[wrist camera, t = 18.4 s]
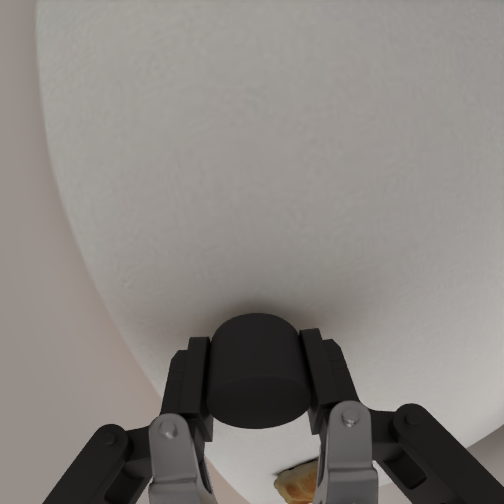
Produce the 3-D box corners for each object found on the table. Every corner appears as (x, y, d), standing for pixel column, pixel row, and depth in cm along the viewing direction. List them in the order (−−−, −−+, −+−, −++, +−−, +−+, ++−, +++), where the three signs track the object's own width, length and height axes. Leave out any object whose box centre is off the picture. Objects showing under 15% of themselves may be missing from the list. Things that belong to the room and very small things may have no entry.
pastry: (339, 442, 18) (349, 480, 15) (381, 446, 20) (391, 477, 17) (267, 476, 22) (270, 507, 18) (314, 480, 24) (318, 507, 20)
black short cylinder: (204, 315, 10) (195, 378, 8) (300, 307, 10) (317, 369, 8) (218, 375, 12) (214, 431, 9) (297, 369, 12) (308, 424, 9)
